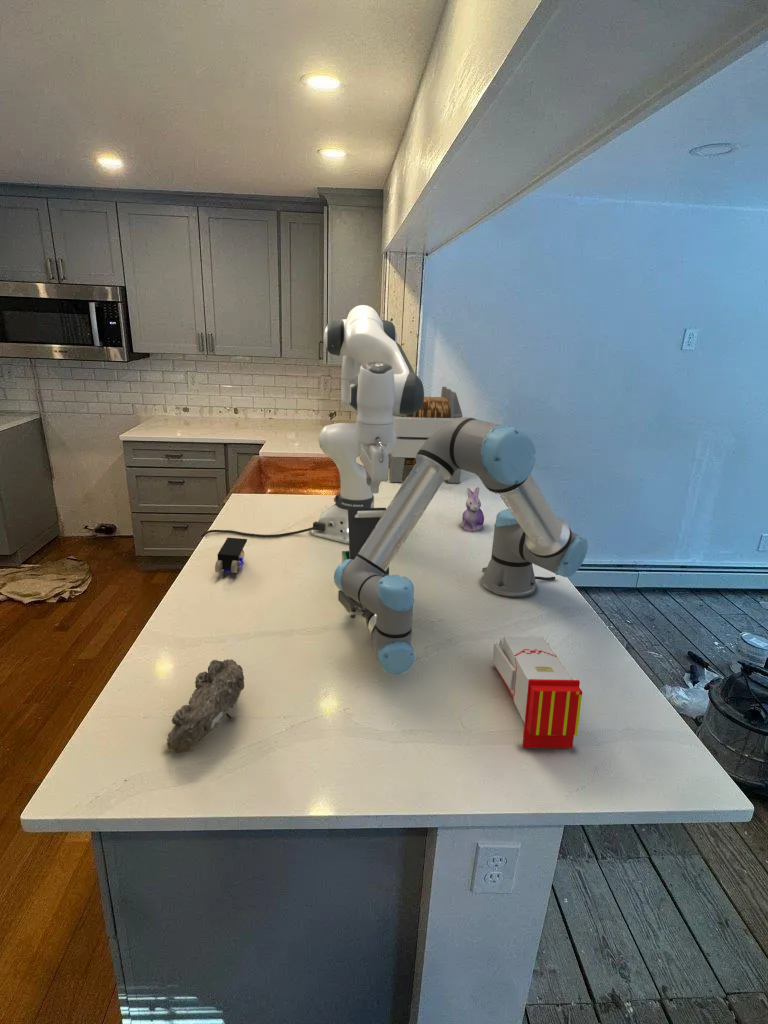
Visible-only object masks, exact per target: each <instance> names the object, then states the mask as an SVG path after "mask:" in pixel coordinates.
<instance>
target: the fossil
mask: <svg viewBox="0 0 768 1024" xmlns="http://www.w3.org/2000/svg"><path fill="white" fill-rule="evenodd" d="M243 670H244V669H243V667H242V665H240V664H237V662H236V661H235V660H234V659H232V658H231V659H227V658H226V659H224V660H223V661H222V660H217V659H212V660H211V661H210V663H209V665H208V666H207V671H201V672H199V673H198V674H197V675H196V676H195V680H194V684H195V685H194V687H195V689H194V690H193V693H192V694H191V697H190V698H189V700H188V704H184V705H182V706H181V707H180V709H177V710H176V711H175V713H174V715H173V716H172V718H171V723H172V724H173V727H172V730H171V731H170V732H168V734H167V738H166V741H167V742H166V745H167V749H168V750H169V751H173V752H174V753H176V754H178V753H182V752H188V751H189V752H192V751H193V750H195V748H196V747H197V746H199V744H200V743H201V742H203V741H204V740H205V739H206V738H207V737H208V736H209V735H210V734H211V733H212V732H214V730H215V729H217V727H218V726H219V724H220V722H221V721H222V720H223V719H224V718H225V716H226V717H227V719H229V720H233V717H232V715H230V714H229V710H230V709H231V708H234V706H235V704H236V703H237V702H238V699H239V697H240V695H241V693H242V691H243V690H245V689H244V688H245V675H244V671H243Z"/></svg>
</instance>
